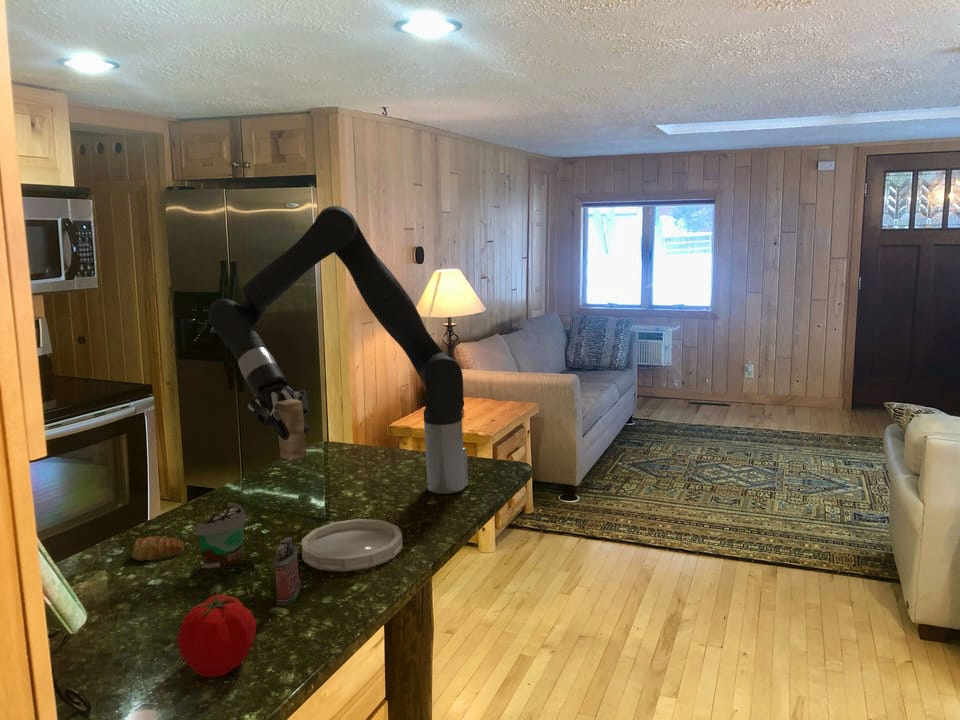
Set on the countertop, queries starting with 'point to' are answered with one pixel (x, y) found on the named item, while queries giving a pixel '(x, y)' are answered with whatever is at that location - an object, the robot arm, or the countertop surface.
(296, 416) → the oak block
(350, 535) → the round dish
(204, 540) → the food container
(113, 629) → the countertop surface
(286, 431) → the robot arm
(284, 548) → the lighter
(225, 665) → the tomato
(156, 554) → the pastry
